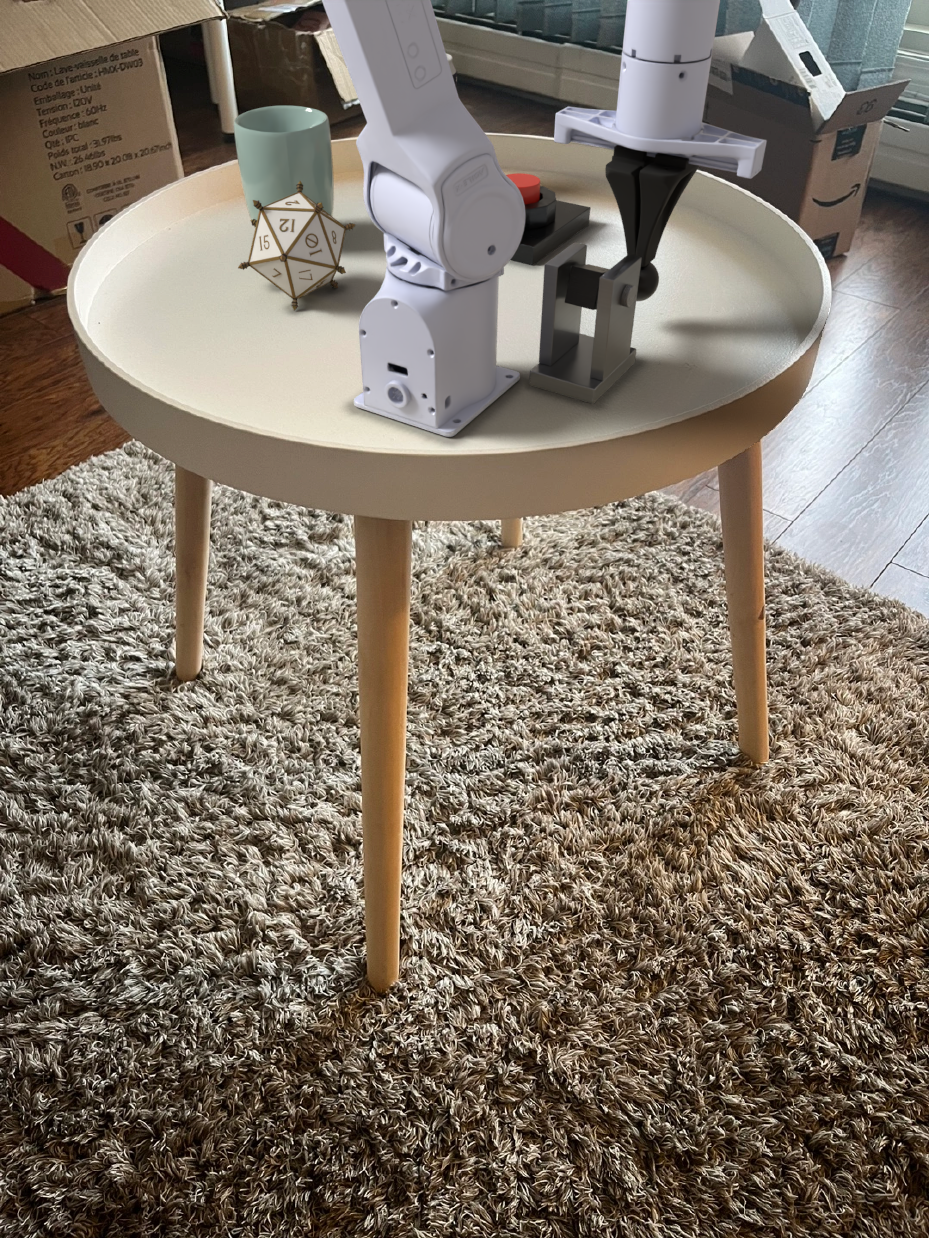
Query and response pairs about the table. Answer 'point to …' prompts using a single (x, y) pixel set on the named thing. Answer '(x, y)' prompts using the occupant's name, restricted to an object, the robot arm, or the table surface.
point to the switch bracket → (576, 357)
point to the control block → (549, 226)
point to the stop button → (527, 186)
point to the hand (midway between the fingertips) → (641, 260)
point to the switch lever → (587, 284)
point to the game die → (296, 245)
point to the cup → (284, 155)
